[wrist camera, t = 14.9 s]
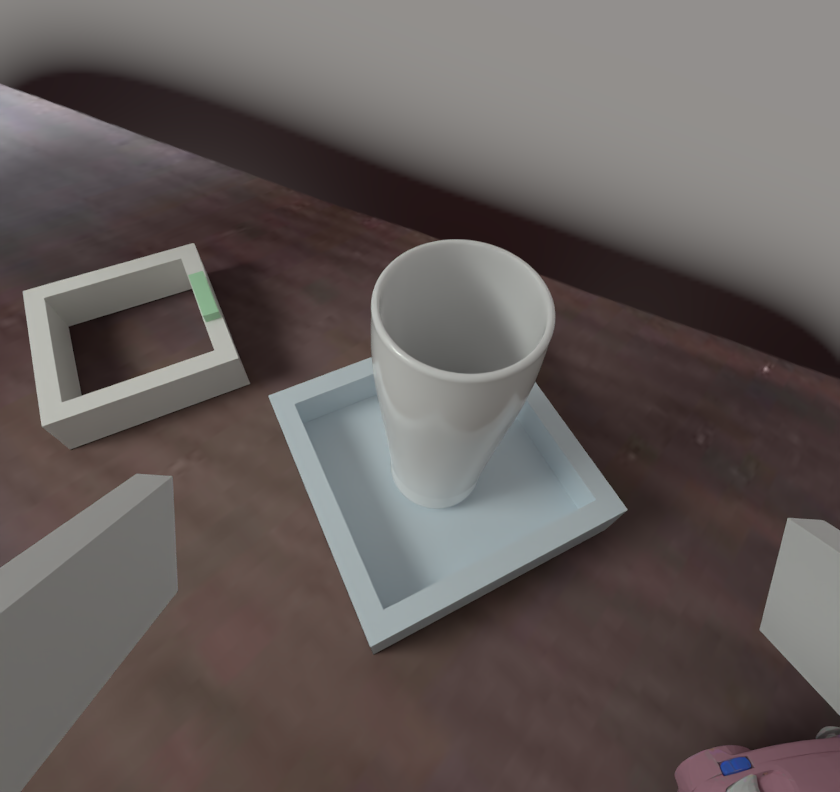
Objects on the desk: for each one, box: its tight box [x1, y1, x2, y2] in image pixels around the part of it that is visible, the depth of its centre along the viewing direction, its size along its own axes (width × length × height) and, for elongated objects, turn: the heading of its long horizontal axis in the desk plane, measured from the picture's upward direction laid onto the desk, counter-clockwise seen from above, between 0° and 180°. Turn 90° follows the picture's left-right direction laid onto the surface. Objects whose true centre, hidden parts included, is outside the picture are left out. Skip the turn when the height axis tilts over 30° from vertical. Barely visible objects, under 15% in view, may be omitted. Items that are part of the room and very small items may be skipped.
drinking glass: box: [371, 239, 555, 509], centre depth 25 cm, size 7×7×15 cm
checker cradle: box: [23, 243, 250, 449], centre depth 35 cm, size 11×11×4 cm
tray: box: [269, 357, 628, 655], centre depth 31 cm, size 15×15×4 cm
